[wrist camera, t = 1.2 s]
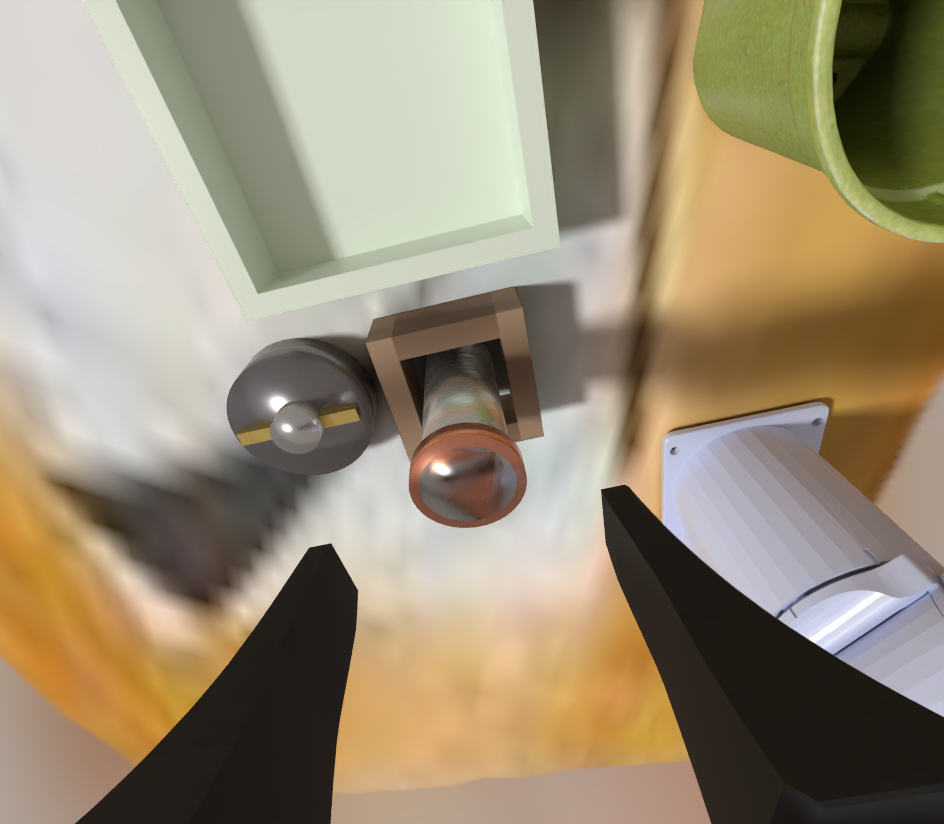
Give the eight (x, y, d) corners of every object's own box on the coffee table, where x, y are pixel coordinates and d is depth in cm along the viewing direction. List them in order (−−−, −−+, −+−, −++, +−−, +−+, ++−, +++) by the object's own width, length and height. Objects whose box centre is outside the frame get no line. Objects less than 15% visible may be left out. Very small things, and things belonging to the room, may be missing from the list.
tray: (543, 227, 18) (560, 246, 15) (273, 292, 19) (246, 321, 16) (487, -212, 12) (500, -299, 9) (94, -90, 13) (9, -140, 10)
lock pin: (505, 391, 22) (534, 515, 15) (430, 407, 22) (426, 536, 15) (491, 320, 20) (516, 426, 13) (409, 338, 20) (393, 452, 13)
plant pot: (870, -317, 11) (1617, -1060, 4) (986, 19, 15) (1486, -66, 8) (582, 40, 15) (717, -27, 8) (734, 242, 19) (922, 326, 11)
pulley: (393, 437, 23) (388, 474, 20) (277, 461, 23) (259, 501, 21) (350, 324, 20) (337, 353, 17) (216, 355, 20) (186, 388, 18)
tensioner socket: (534, 406, 22) (544, 436, 20) (413, 432, 23) (411, 463, 21) (513, 286, 19) (522, 307, 17) (373, 319, 20) (365, 343, 18)
